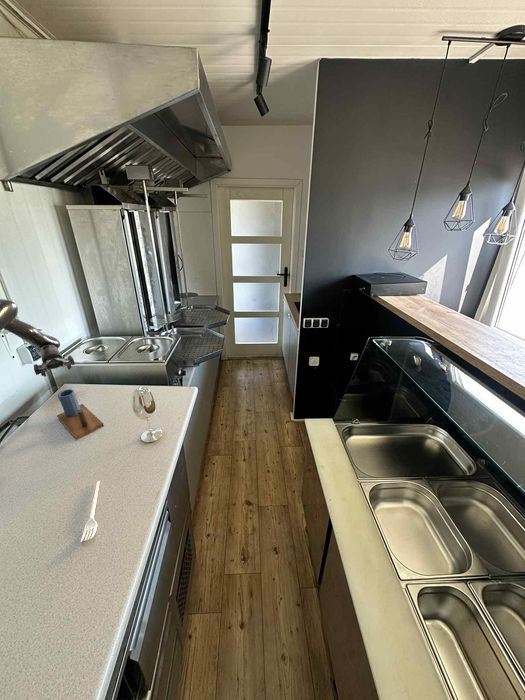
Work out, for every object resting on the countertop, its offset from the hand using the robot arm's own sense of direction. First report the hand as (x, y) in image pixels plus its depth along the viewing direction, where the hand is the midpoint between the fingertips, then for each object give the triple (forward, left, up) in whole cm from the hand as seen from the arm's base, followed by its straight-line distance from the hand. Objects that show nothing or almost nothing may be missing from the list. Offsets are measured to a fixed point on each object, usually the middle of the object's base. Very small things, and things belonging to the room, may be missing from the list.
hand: (57, 371), depth 118 cm
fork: (-15, -60, -18) cm, 64 cm away
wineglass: (+12, -46, -18) cm, 51 cm away
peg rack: (-2, -16, -18) cm, 24 cm away
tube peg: (-2, -10, -16) cm, 19 cm away
